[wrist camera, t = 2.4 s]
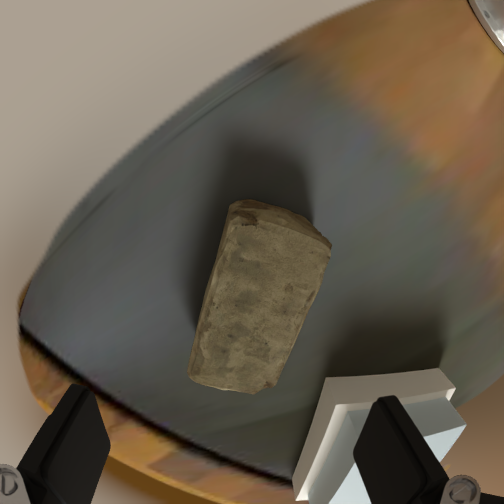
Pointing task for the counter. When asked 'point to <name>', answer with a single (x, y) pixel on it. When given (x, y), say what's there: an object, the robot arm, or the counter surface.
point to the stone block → (257, 296)
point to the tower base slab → (358, 398)
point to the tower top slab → (341, 455)
